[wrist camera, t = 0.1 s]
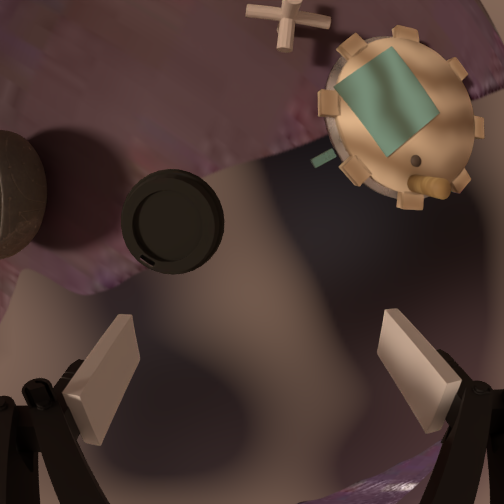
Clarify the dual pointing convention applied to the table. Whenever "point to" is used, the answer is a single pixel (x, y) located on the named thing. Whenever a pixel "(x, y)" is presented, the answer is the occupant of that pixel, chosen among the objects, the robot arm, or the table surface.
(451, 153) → the sprocket
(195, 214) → the coffee cup
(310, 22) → the light wooden cross
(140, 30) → the table surface
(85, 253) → the table surface
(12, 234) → the bowl
